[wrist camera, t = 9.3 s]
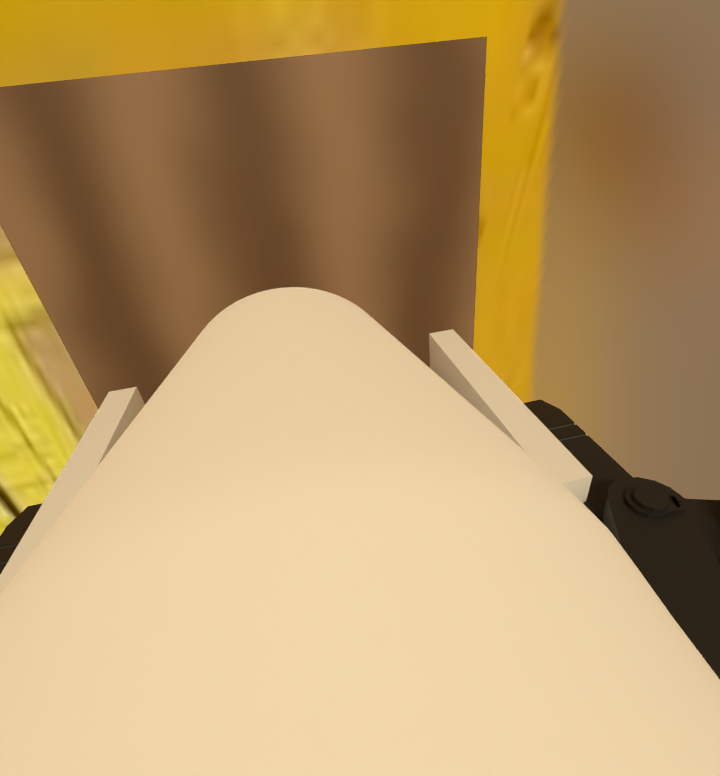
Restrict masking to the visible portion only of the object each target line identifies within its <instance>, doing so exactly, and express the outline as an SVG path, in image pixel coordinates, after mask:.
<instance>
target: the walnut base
mask: <svg viewBox="0 0 720 776" xmlns="http://www.w3.org/2000/svg"><path fill="white" fill-rule="evenodd" d="M486 44H487V37H479V38H469V39H460V40H450V41H440V42H431V43H421V44H411V45H402V46H392V47H382V48H373V49H363V50H354V51H344V52H334V53H325V54H315V55H305V56H296V57H286V58H276V59H267V60H257V61H248V62H238V63H228V64H219V65H209V66H199V67H190V68H180V69H170V70H161V71H151V72H142V73H132V74H122V75H113V76H103V77H93V78H84V79H74V80H64V81H55V82H45V83H36V84H26V85H16V86H7V87H0V225H1V227H2V229H3V231H4V233H5V235H6V236H7V238H8V240H9V242H10V244H11V246H12V248H13V250H14V251H15V253H16V255H17V257H18V259H19V261H20V263H21V265H22V266H23V268H24V270H25V272H26V274H27V276H28V278H29V280H30V282H31V283H32V285H33V287H34V289H35V291H36V293H37V295H38V297H39V298H40V300H41V302H42V304H43V306H44V308H45V310H46V312H47V313H48V315H49V317H50V319H51V321H52V323H53V325H54V327H55V328H56V330H57V332H58V334H59V336H60V338H61V340H62V342H63V344H64V345H65V347H66V349H67V351H68V353H69V355H70V357H71V359H72V360H73V362H74V364H75V366H76V368H77V370H78V372H79V374H80V375H81V377H82V379H83V381H84V383H85V385H86V387H87V389H88V391H89V392H90V394H91V396H92V398H93V400H94V402H95V404H96V406H97V407H98V409H99V408H100V406H101V404H102V403H103V401H104V399H105V398H106V396H107V394H108V392H110V391H116V390H121V389H127V388H132V387H137V388H138V390H139V393H140V395H141V397H142V399H143V401H144V403H145V404H146V403H147V402H148V400H149V399H150V398H151V397H152V395H153V394H154V393H155V391H156V390H157V389H158V387H159V386H160V385H161V384H162V382H163V381H164V380H165V378H166V377H167V376H168V375H169V373H170V372H171V371H172V369H173V368H174V367H175V365H176V364H177V363H178V362H179V360H180V359H181V358H182V356H183V355H184V354H185V352H186V351H187V350H188V349H189V347H190V346H191V345H192V343H193V342H194V341H195V340H196V338H197V337H198V336H199V334H200V333H201V332H202V330H203V329H204V328H205V327H206V326H207V325H208V323H209V322H210V321H211V320H212V319H213V318H214V317H215V316H216V315H218V314H219V313H220V312H221V311H223V310H224V309H225V308H227V307H228V306H230V305H232V304H233V303H235V302H236V301H239V300H241V299H243V298H245V297H247V296H250V295H252V294H255V293H258V292H262V291H266V290H270V289H276V288H286V287H304V288H312V289H318V290H322V291H326V292H329V293H332V294H335V295H338V296H340V297H342V298H345V299H347V300H349V301H350V302H352V303H354V304H355V305H357V306H358V307H360V308H361V309H362V310H364V311H365V312H366V313H367V314H368V315H370V316H371V317H372V318H373V319H374V320H375V321H376V322H378V323H379V324H380V325H381V326H382V327H383V328H384V329H386V330H387V331H388V332H389V333H390V334H391V335H393V336H394V337H395V338H396V339H397V340H398V341H399V342H401V343H402V344H403V345H404V346H405V347H406V348H407V349H409V350H410V351H411V352H412V353H413V354H414V355H415V356H417V357H418V358H419V359H420V360H421V361H422V362H423V363H425V364H426V365H427V366H428V367H429V368H430V351H429V333H435V332H440V331H446V330H451V329H453V330H454V331H455V332H456V333H457V334H458V335H459V336H460V337H461V338H462V339H463V340H464V341H465V342H466V343H467V345H468V346H469V347H470V348H471V349H472V350H473V338H474V315H475V293H476V270H477V247H478V225H479V202H480V179H481V157H482V134H483V111H484V89H485V66H486Z"/></svg>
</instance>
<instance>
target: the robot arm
mask: <svg viewBox="0 0 720 776" xmlns="http://www.w3.org/2000/svg"><path fill="white" fill-rule="evenodd" d="M429 351H430V369H431V370H433V371H434V372H435V373H436V374H437V375H438V376H439V377H441V378H442V379H443V380H444V381H445V382H446V383H447V384H449V385H450V386H451V387H452V388H453V389H454V390H455V391H457V392H458V393H459V394H460V395H461V396H462V397H463V398H465V399H466V400H467V401H468V402H469V403H470V404H471V405H473V406H474V407H475V408H476V409H477V410H478V411H479V412H481V413H482V414H483V415H484V416H485V417H486V418H487V419H489V420H490V421H491V422H492V423H493V424H494V425H495V426H497V427H498V428H499V429H500V430H501V431H502V432H503V433H505V434H506V435H507V436H508V437H509V438H510V439H511V440H513V441H514V442H515V443H516V444H517V445H518V446H519V447H520V448H522V449H523V450H524V451H525V452H526V453H527V454H528V455H529V456H531V457H532V458H533V459H534V460H535V461H536V462H537V463H539V464H540V465H541V466H542V467H543V468H544V469H545V470H546V471H548V472H549V473H550V474H551V475H552V476H553V477H554V478H555V479H557V480H558V481H559V482H560V483H561V484H562V485H563V486H565V487H566V488H567V489H568V490H569V491H570V492H571V493H572V494H573V495H574V496H575V497H577V498H578V499H579V500H580V501H581V502H582V503H583V504H584V505H585V506H586V507H587V508H588V509H589V510H590V511H591V512H592V513H593V514H594V515H595V516H596V517H597V518H598V519H599V520H600V521H601V522H602V523H603V524H604V525H605V526H606V527H607V528H608V529H609V530H610V532H611V533H612V534H613V536H614V537H615V538H616V540H617V541H618V542H619V544H620V545H621V546H622V548H623V549H624V550H625V552H626V553H627V554H628V556H629V557H630V559H631V560H632V561H633V563H634V564H635V565H636V567H637V568H638V569H639V571H640V572H641V574H642V575H643V576H644V578H645V579H646V581H647V582H648V583H649V585H650V586H651V588H652V589H653V590H654V592H655V593H656V595H657V596H658V597H659V599H660V600H661V602H662V603H663V604H664V606H665V607H666V609H667V610H668V611H669V613H670V614H671V615H672V617H673V618H674V620H675V621H676V622H677V623H678V625H679V626H680V627H681V629H682V630H683V631H684V633H685V634H686V635H687V637H688V638H689V639H690V641H691V642H692V643H693V645H694V646H695V647H696V649H697V650H698V651H699V653H700V654H701V655H702V657H703V658H704V659H705V661H706V662H707V663H708V665H709V666H710V667H711V669H712V670H713V671H714V673H715V674H716V675H717V677H718V678H719V679H720V500H699V499H684V498H683V497H682V496H681V495H680V494H678V493H676V492H675V491H674V490H673V489H671V488H670V487H668V486H665V485H663V484H661V483H658V482H656V481H653V480H648V479H644V478H639V477H637V478H633V477H632V476H631V475H629V474H628V473H627V472H626V471H625V470H624V469H623V468H622V467H621V466H620V465H619V464H618V463H617V462H616V461H615V460H613V459H612V458H611V457H610V456H609V455H608V454H607V453H606V452H605V451H604V450H603V449H602V448H601V447H600V446H599V445H598V444H596V443H595V442H594V441H593V440H592V439H591V438H590V437H589V436H586V435H585V432H584V431H583V430H582V429H581V428H580V427H578V426H577V425H574V422H573V421H572V420H571V419H570V418H569V417H568V416H567V415H566V414H565V413H564V412H562V411H561V410H560V409H558V408H557V407H555V406H552V405H550V404H548V403H546V402H544V401H542V400H537V401H532V402H527V403H523V402H522V401H521V400H520V399H519V398H518V397H517V396H516V395H515V394H514V393H513V392H512V391H511V390H510V389H509V388H508V387H507V386H506V384H505V383H504V382H503V381H502V380H501V379H500V378H499V377H498V376H497V375H496V374H495V373H494V372H493V371H492V370H491V369H490V368H489V367H488V366H487V365H486V363H485V362H484V361H483V360H482V359H481V358H480V357H479V356H478V355H477V354H476V353H475V352H474V351H473V350H472V349H471V348H470V347H469V346H468V345H467V343H466V342H465V341H464V340H463V339H462V338H461V337H460V336H459V335H458V334H457V333H456V332H455V331H454V330H453V329H451V330H446V331H440V332H435V333H429ZM144 406H145V403H144V401H143V399H142V397H141V395H140V393H139V390H138V388H137V387H132V388H127V389H121V390H116V391H110V392H108V394H107V396H106V398H105V399H104V401H103V403H102V404H101V406H100V408H99V409H98V411H97V413H96V414H95V416H94V418H93V419H92V421H91V423H90V425H89V426H88V428H87V430H86V431H85V433H84V435H83V436H82V438H81V440H80V441H79V443H78V445H77V446H76V448H75V450H74V451H73V453H72V455H71V457H70V458H69V460H68V462H67V463H66V465H65V467H64V468H63V470H62V472H61V473H60V475H59V477H58V478H57V480H56V482H55V484H54V485H53V487H52V489H51V490H50V492H49V494H48V495H47V497H46V499H45V500H44V502H43V504H38V505H33V506H28V507H27V508H26V509H25V510H24V511H23V512H22V513H21V514H20V515H19V516H17V517H16V518H15V519H14V520H13V521H12V522H11V523H10V524H9V525H8V526H7V527H6V528H5V530H4V531H3V533H2V535H1V536H0V593H1V592H2V591H3V589H4V588H5V587H6V586H7V584H8V583H9V582H10V580H11V579H12V578H13V576H14V575H15V574H16V572H17V571H18V570H19V568H20V567H21V566H22V565H23V563H24V562H25V561H26V559H27V558H28V557H29V555H30V554H31V553H32V551H33V550H34V549H35V548H36V546H37V545H38V544H39V542H40V541H41V540H42V538H43V537H44V536H45V534H46V533H47V532H48V530H49V529H50V528H51V527H52V525H53V524H54V523H55V521H56V520H57V519H58V517H59V516H60V515H61V513H62V512H63V511H64V509H65V508H66V507H67V506H68V504H69V503H70V502H71V500H72V499H73V498H74V496H75V495H76V494H77V493H78V491H79V490H80V489H81V487H82V486H83V485H84V483H85V482H86V481H87V480H88V478H89V477H90V476H91V474H92V473H93V472H94V470H95V469H96V468H97V467H98V465H99V464H100V463H101V461H102V460H103V459H104V457H105V456H106V455H107V454H108V452H109V451H110V450H111V448H112V447H113V446H114V445H115V443H116V442H117V441H118V439H119V438H120V437H121V435H122V434H123V433H124V432H125V430H126V429H127V428H128V426H129V425H130V424H131V422H132V421H133V420H134V419H135V417H136V416H137V415H138V413H139V412H140V411H141V409H142V408H143V407H144Z"/></svg>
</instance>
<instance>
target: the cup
mask: <svg viewBox="0 0 720 776" xmlns="http://www.w3.org/2000/svg"><path fill="white" fill-rule="evenodd" d="M0 776H720V679H719V678H718V677H717V675H716V674H715V673H714V671H713V670H712V669H711V667H710V666H709V665H708V663H707V662H706V661H705V659H704V658H703V657H702V655H701V654H700V653H699V651H698V650H697V649H696V647H695V646H694V645H693V643H692V642H691V641H690V639H689V638H688V637H687V635H686V634H685V633H684V631H683V630H682V629H681V627H680V626H679V625H678V623H677V622H676V621H675V620H674V618H673V617H672V615H671V614H670V613H669V611H668V610H667V609H666V607H665V606H664V604H663V603H662V602H661V600H660V599H659V597H658V596H657V595H656V593H655V592H654V590H653V589H652V588H651V586H650V585H649V583H648V582H647V581H646V579H645V578H644V576H643V575H642V574H641V572H640V571H639V569H638V568H637V567H636V565H635V564H634V563H633V561H632V560H631V559H630V557H629V556H628V554H627V553H626V552H625V550H624V549H623V548H622V546H621V545H620V544H619V542H618V541H617V540H616V538H615V537H614V536H613V534H612V533H611V532H610V530H609V529H608V528H607V527H606V526H605V525H604V524H603V523H602V522H601V521H600V520H599V519H598V518H597V517H596V516H595V515H594V514H593V513H592V512H591V511H590V510H589V509H588V508H587V507H586V506H585V505H584V504H583V503H582V502H581V501H580V500H579V499H578V498H577V497H575V496H574V495H573V494H572V493H571V492H570V491H569V490H568V489H567V488H566V487H565V486H563V485H562V484H561V483H560V482H559V481H558V480H557V479H555V478H554V477H553V476H552V475H551V474H550V473H549V472H548V471H546V470H545V469H544V468H543V467H542V466H541V465H540V464H539V463H537V462H536V461H535V460H534V459H533V458H532V457H531V456H529V455H528V454H527V453H526V452H525V451H524V450H523V449H522V448H520V447H519V446H518V445H517V444H516V443H515V442H514V441H513V440H511V439H510V438H509V437H508V436H507V435H506V434H505V433H503V432H502V431H501V430H500V429H499V428H498V427H497V426H495V425H494V424H493V423H492V422H491V421H490V420H489V419H487V418H486V417H485V416H484V415H483V414H482V413H481V412H479V411H478V410H477V409H476V408H475V407H474V406H473V405H471V404H470V403H469V402H468V401H467V400H466V399H465V398H463V397H462V396H461V395H460V394H459V393H458V392H457V391H455V390H454V389H453V388H452V387H451V386H450V385H449V384H447V383H446V382H445V381H444V380H443V379H442V378H441V377H439V376H438V375H437V374H436V373H435V372H434V371H433V370H431V369H430V368H429V367H428V366H427V365H426V364H425V363H423V362H422V361H421V360H420V359H419V358H418V357H417V356H415V355H414V354H413V353H412V352H411V351H410V350H409V349H407V348H406V347H405V346H404V345H403V344H402V343H401V342H399V341H398V340H397V339H396V338H395V337H394V336H393V335H391V334H390V333H389V332H388V331H387V330H386V329H384V328H383V327H382V326H381V325H380V324H379V323H378V322H376V321H375V320H374V319H373V318H372V317H371V316H370V315H368V314H367V313H366V312H365V311H364V310H362V309H361V308H360V307H358V306H357V305H355V304H354V303H352V302H350V301H349V300H347V299H345V298H342V297H340V296H338V295H335V294H332V293H329V292H326V291H322V290H318V289H312V288H304V287H286V288H276V289H270V290H266V291H262V292H258V293H255V294H252V295H250V296H247V297H245V298H243V299H241V300H239V301H236V302H235V303H233V304H232V305H230V306H228V307H227V308H225V309H224V310H223V311H221V312H220V313H219V314H218V315H216V316H215V317H214V318H213V319H212V320H211V321H210V322H209V323H208V325H207V326H206V327H205V328H204V329H203V330H202V332H201V333H200V334H199V336H198V337H197V338H196V340H195V341H194V342H193V343H192V345H191V346H190V347H189V349H188V350H187V351H186V352H185V354H184V355H183V356H182V358H181V359H180V360H179V362H178V363H177V364H176V365H175V367H174V368H173V369H172V371H171V372H170V373H169V375H168V376H167V377H166V378H165V380H164V381H163V382H162V384H161V385H160V386H159V387H158V389H157V390H156V391H155V393H154V394H153V395H152V397H151V398H150V399H149V400H148V402H147V403H146V404H145V406H144V407H143V408H142V409H141V411H140V412H139V413H138V415H137V416H136V417H135V419H134V420H133V421H132V422H131V424H130V425H129V426H128V428H127V429H126V430H125V432H124V433H123V434H122V435H121V437H120V438H119V439H118V441H117V442H116V443H115V445H114V446H113V447H112V448H111V450H110V451H109V452H108V454H107V455H106V456H105V457H104V459H103V460H102V461H101V463H100V464H99V465H98V467H97V468H96V469H95V470H94V472H93V473H92V474H91V476H90V477H89V478H88V480H87V481H86V482H85V483H84V485H83V486H82V487H81V489H80V490H79V491H78V493H77V494H76V495H75V496H74V498H73V499H72V500H71V502H70V503H69V504H68V506H67V507H66V508H65V509H64V511H63V512H62V513H61V515H60V516H59V517H58V519H57V520H56V521H55V523H54V524H53V525H52V527H51V528H50V529H49V530H48V532H47V533H46V534H45V536H44V537H43V538H42V540H41V541H40V542H39V544H38V545H37V546H36V548H35V549H34V550H33V551H32V553H31V554H30V555H29V557H28V558H27V559H26V561H25V562H24V563H23V565H22V566H21V567H20V568H19V570H18V571H17V572H16V574H15V575H14V576H13V578H12V579H11V580H10V582H9V583H8V584H7V586H6V587H5V588H4V589H3V591H2V592H1V593H0Z"/></svg>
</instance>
